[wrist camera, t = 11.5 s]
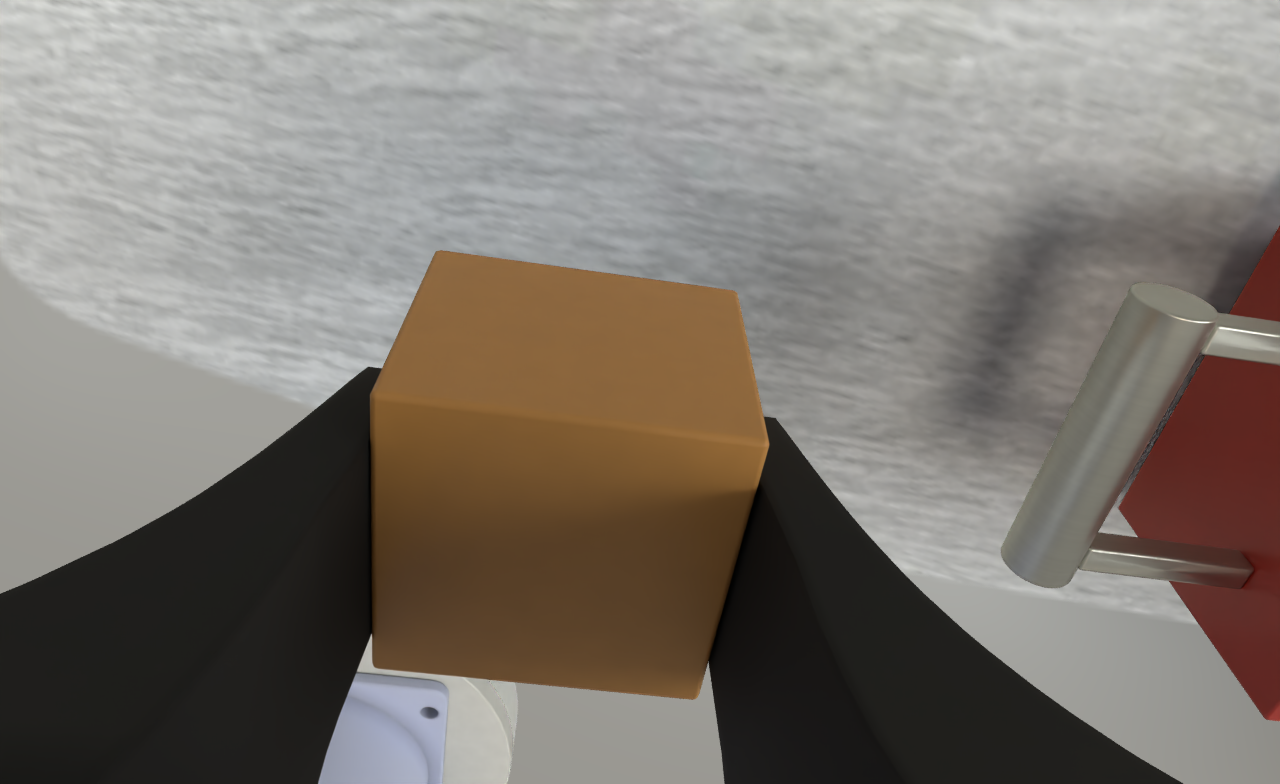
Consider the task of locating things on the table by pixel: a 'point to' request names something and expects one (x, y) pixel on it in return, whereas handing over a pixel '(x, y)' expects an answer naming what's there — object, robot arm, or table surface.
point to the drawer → (1176, 469)
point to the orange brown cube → (560, 477)
